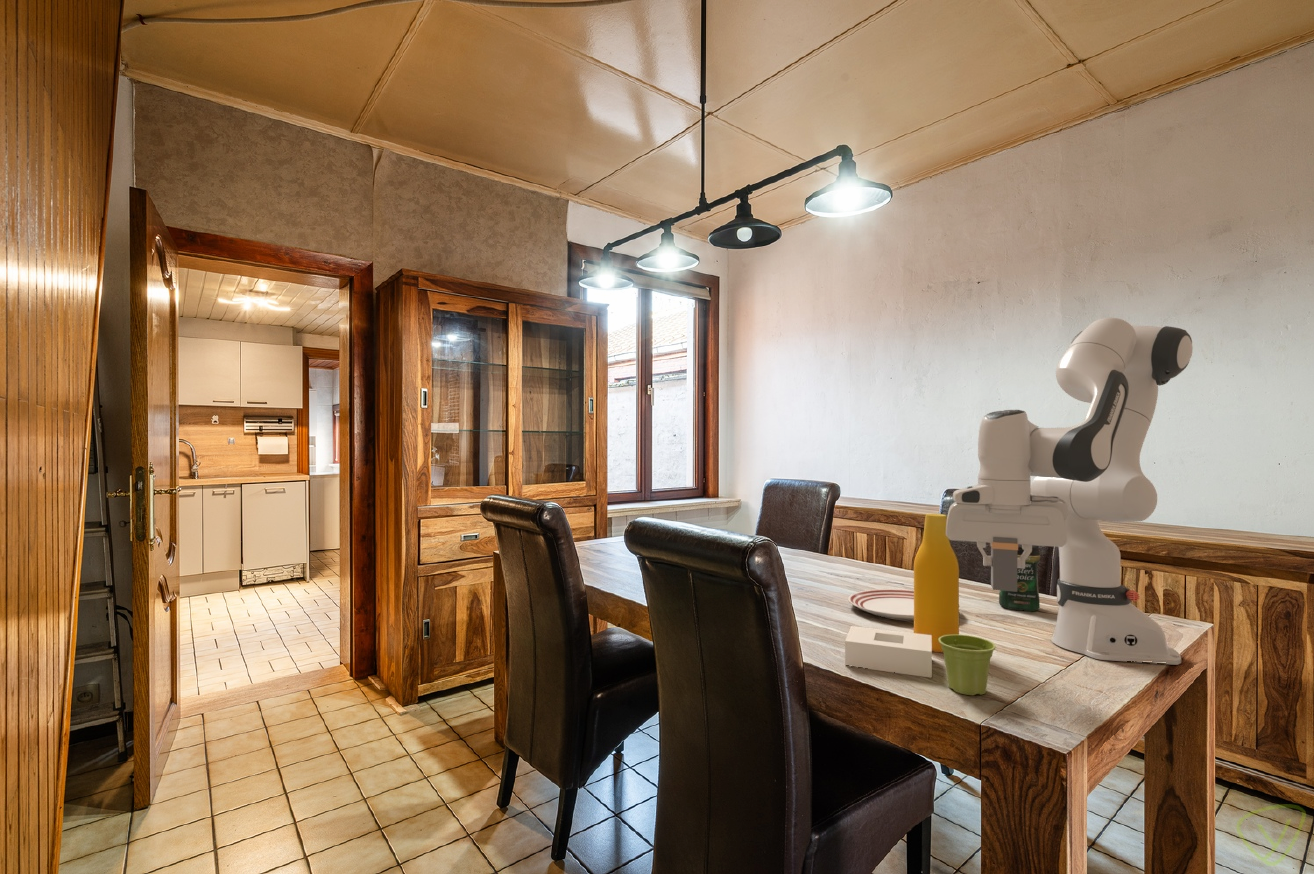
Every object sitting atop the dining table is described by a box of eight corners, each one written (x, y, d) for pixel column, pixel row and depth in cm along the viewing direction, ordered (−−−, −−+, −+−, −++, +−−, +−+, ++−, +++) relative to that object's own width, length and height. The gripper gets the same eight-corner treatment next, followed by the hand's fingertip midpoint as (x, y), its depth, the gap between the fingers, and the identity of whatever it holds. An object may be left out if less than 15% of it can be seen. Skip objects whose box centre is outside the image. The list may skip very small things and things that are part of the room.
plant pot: (934, 692, 112) (934, 644, 112) (943, 675, 120) (943, 631, 120) (992, 704, 107) (992, 654, 107) (998, 686, 115) (998, 639, 115)
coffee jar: (999, 609, 167) (999, 540, 167) (998, 602, 174) (998, 536, 174) (1041, 613, 163) (1041, 542, 163) (1038, 606, 170) (1038, 538, 170)
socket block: (931, 659, 129) (931, 635, 129) (931, 677, 119) (931, 651, 119) (851, 648, 135) (851, 625, 136) (845, 665, 125) (845, 640, 125)
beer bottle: (921, 636, 144) (921, 511, 144) (964, 645, 138) (964, 514, 138) (907, 646, 137) (907, 515, 137) (952, 656, 131) (952, 518, 131)
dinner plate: (848, 622, 156) (848, 609, 156) (847, 595, 182) (847, 584, 182) (968, 631, 148) (968, 617, 148) (950, 602, 174) (950, 591, 174)
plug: (1014, 587, 120) (1015, 535, 120) (1017, 591, 116) (1018, 538, 116) (990, 584, 122) (990, 533, 122) (992, 589, 118) (992, 536, 118)
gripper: (1064, 495, 118) (1064, 568, 118) (945, 491, 126) (945, 559, 126) (1071, 498, 112) (1071, 574, 112) (946, 493, 120) (946, 565, 120)
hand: (1003, 566), depth 119 cm, fingers closed on plug, 4 cm apart
